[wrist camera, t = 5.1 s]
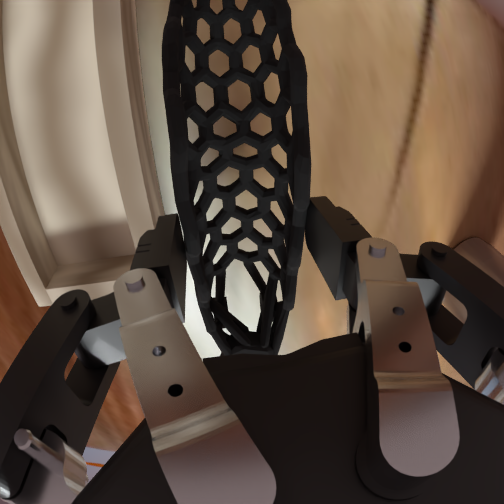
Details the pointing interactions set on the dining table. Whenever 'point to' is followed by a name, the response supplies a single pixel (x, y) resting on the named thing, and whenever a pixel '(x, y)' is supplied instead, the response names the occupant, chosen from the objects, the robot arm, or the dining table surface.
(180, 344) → the robot arm
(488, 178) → the dining table surface
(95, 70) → the rectangular tray
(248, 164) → the decorative element
